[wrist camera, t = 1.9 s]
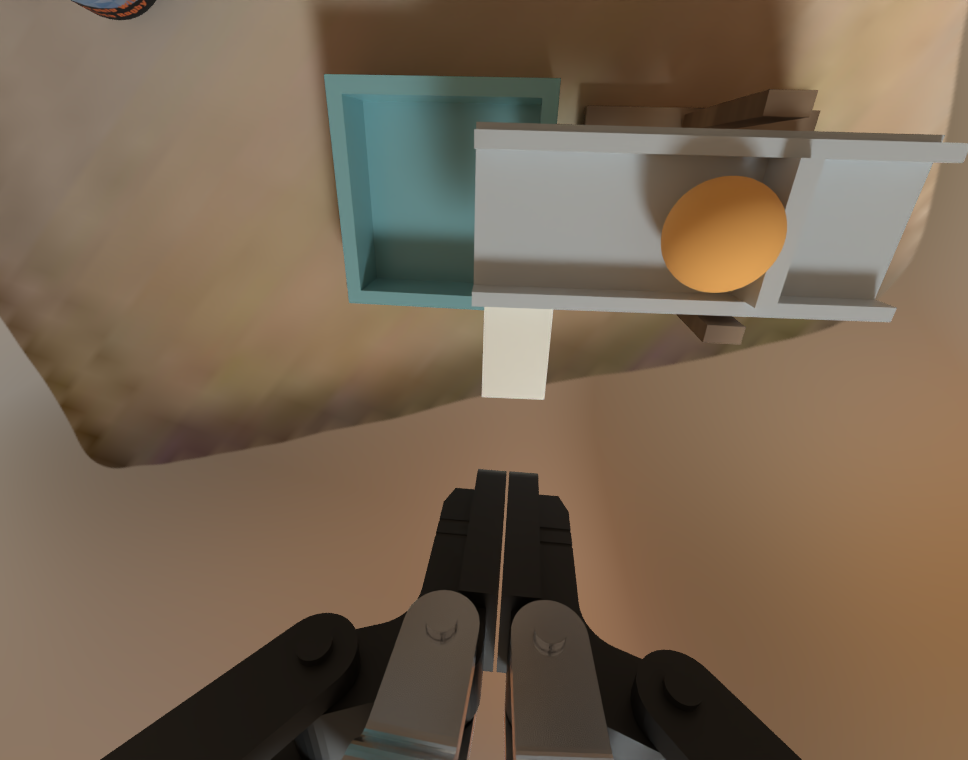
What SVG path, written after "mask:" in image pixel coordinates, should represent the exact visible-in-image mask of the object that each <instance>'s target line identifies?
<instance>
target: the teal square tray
mask: <svg viewBox="0 0 968 760" xmlns="http://www.w3.org/2000/svg"><path fill="white" fill-rule="evenodd" d="M324 80H325V89H326V98H327V107H328V116H329V125H330V134H331V143H332V152H333V161H334V170H335V179H336V188H337V197H338V206H339V215H340V224H341V233H342V242H343V251H344V260H345V269H346V279H347V288H348V297H349V303H362V304H380V305H399V306H417V307H435V308H454V309H472V310H484V307H477V306H472V289H473V285H474V232H475V173H476V149H474V129H476V122H502V123H537V124H557V117H558V105H559V94H560V82H561V78H520V77H463V76H405V75H348V74H324Z"/></svg>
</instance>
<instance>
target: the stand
mask: <svg viewBox="0 0 968 760" xmlns="http://www.w3.org/2000/svg"><path fill="white" fill-rule="evenodd" d="M817 92H818V90H775V89H769V90H766V91H763V92H759V93H756V94H752V95H749V96H746V97H742V98H739V99H735V100H732V101H729V102H725V103H722V104H718V105H715V106H712V107H708V108H675V107H629V106H587V107H586V108H585V116H584V125H607V126H642V127H678V128H713V129H748V130H783V131H814V129H815V126H816V123H817V120H818V116H819V113H820V111H814V110H812V109H813V106H814V102H815V99H816V96H817ZM676 315H677V316H678V317H679V318H680V319H681V320H682V321H683V322H684V323H685V324H686V325H687V326H688V327H689V328H690V329H691V330H692V331H693V332H694V333H695V335H696V336H697V337H698V338H699V339H700V340H701V341H702V342H705V343H723V344H740V345H741V341H742V338H743V335H744V332H745V328H746V327H745V326H744V325H742V324H741V323H740V322H738V321H737V320H736V319H735V318H733V317H732V316H714V315H688V314H676Z"/></svg>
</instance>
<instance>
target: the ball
mask: <svg viewBox="0 0 968 760" xmlns="http://www.w3.org/2000/svg"><path fill="white" fill-rule="evenodd" d="M786 234H787V218H786V213H785V209H784V207H783V204H782V202H781V201H780V199H779V198H778V196H777V195H776V194H775V193H774V192H773V191H772V190H771V189H770V188H769V187H768V186H766V185H765V184H763V183H761V182H759V181H757V180H755V179H752V178H749V177H744V176H722V177H717V178H714V179H710V180H708V181H705V182H703V183H701V184H699V185H697V186H695V187H694V188H692V189H691V190H689V191H688V192H687V193H685V194H684V195H683V196H682V197H681V198H680V199H679V200H678V201H677V202H676V204H675V205H674V206H673V208H672V209H671V211H670V212H669V214H668V216H667V218H666V220H665V223H664V225H663V229H662V234H661V252H662V256H663V259H664V262H665V264H666V266H667V268H668V269H669V271H670V272H671V273H672V275H673V276H674V277H675V278H676V279H677V280H678V281H680V282H681V283H682V284H684V285H686V286H687V287H690V288H692V289H695V290H698V291H702V292H709V293H720V292H728V291H733V290H736V289H739V288H742V287H744V286H746V285H748V284H750V283H752V282H753V281H755V280H756V279H758V278H759V277H761V276H762V275H763V274H764V273H765V272H766V271H767V270H768V269H769V268H770V267H771V266H772V265H773V263H774V262H775V261H776V259H777V258H778V256H779V254H780V252H781V250H782V248H783V245H784V243H785V239H786Z"/></svg>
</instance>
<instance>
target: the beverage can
mask: <svg viewBox="0 0 968 760" xmlns="http://www.w3.org/2000/svg"><path fill="white" fill-rule="evenodd" d="M71 1H73V2H75V3H77V4H78V5H80V6H82V7H84V8H86V9H88V10H89V11H91V12H93V13H95V14H97V15H99V16H102V17H105V18H108V19H114V20H127V19H132V18H135V17H138V16H140V15H142V14H143V13H145V12H146V11H147V10H148V9H149V8H150V7H151V6H152V5H153V4H154V3H155V1H156V0H71Z"/></svg>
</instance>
